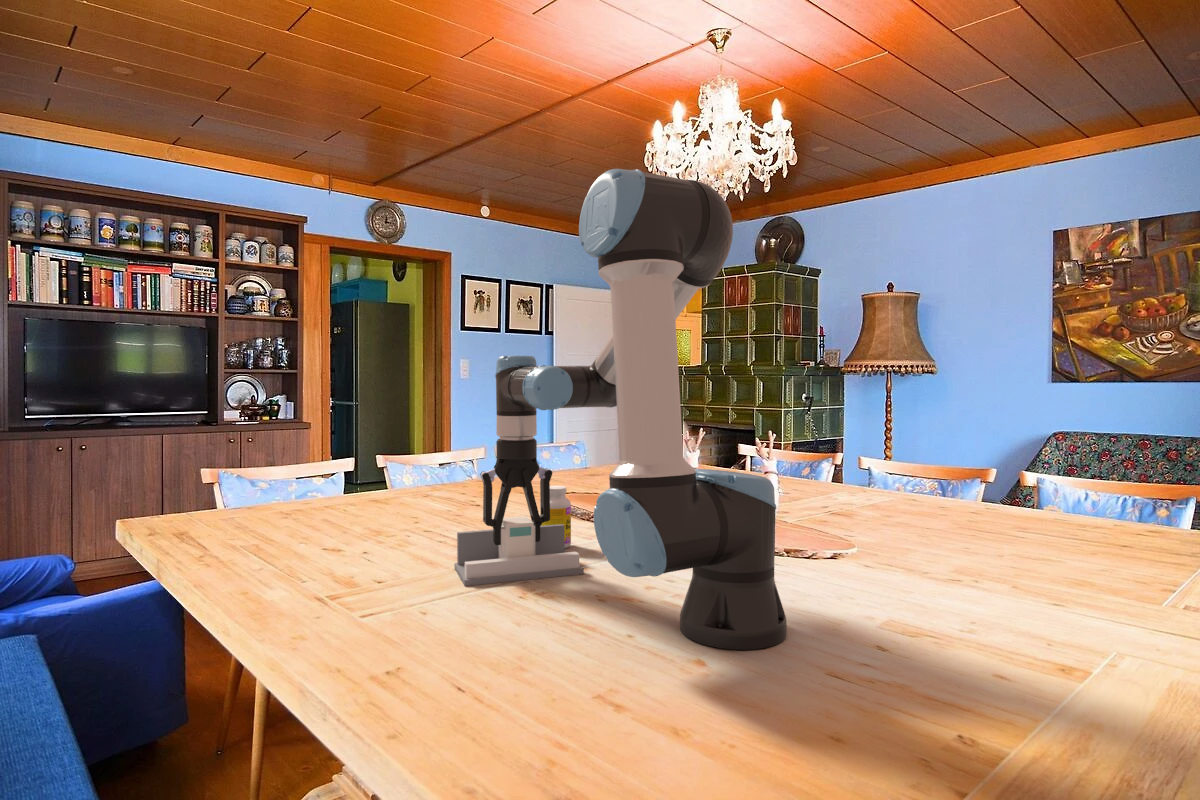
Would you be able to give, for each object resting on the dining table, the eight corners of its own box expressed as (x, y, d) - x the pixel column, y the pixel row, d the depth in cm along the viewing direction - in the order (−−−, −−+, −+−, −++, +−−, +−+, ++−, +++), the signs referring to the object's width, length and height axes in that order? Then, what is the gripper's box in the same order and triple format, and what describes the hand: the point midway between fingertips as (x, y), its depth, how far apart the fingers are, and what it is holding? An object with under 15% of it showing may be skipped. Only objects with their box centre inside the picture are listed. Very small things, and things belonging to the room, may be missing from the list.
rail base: (583, 573, 133) (583, 536, 132) (464, 586, 125) (464, 546, 125) (564, 558, 144) (564, 523, 144) (454, 568, 136) (454, 532, 136)
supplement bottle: (570, 550, 150) (569, 489, 150) (538, 550, 150) (538, 489, 150) (571, 542, 157) (571, 484, 156) (541, 542, 157) (541, 484, 157)
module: (533, 565, 133) (533, 522, 133) (507, 567, 132) (507, 524, 131) (525, 556, 139) (525, 516, 139) (500, 559, 137) (500, 517, 137)
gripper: (557, 434, 141) (557, 551, 142) (465, 437, 135) (465, 559, 136) (568, 438, 134) (568, 561, 135) (471, 441, 128) (472, 569, 129)
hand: (517, 560), depth 135 cm, fingers closed on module, 5 cm apart
